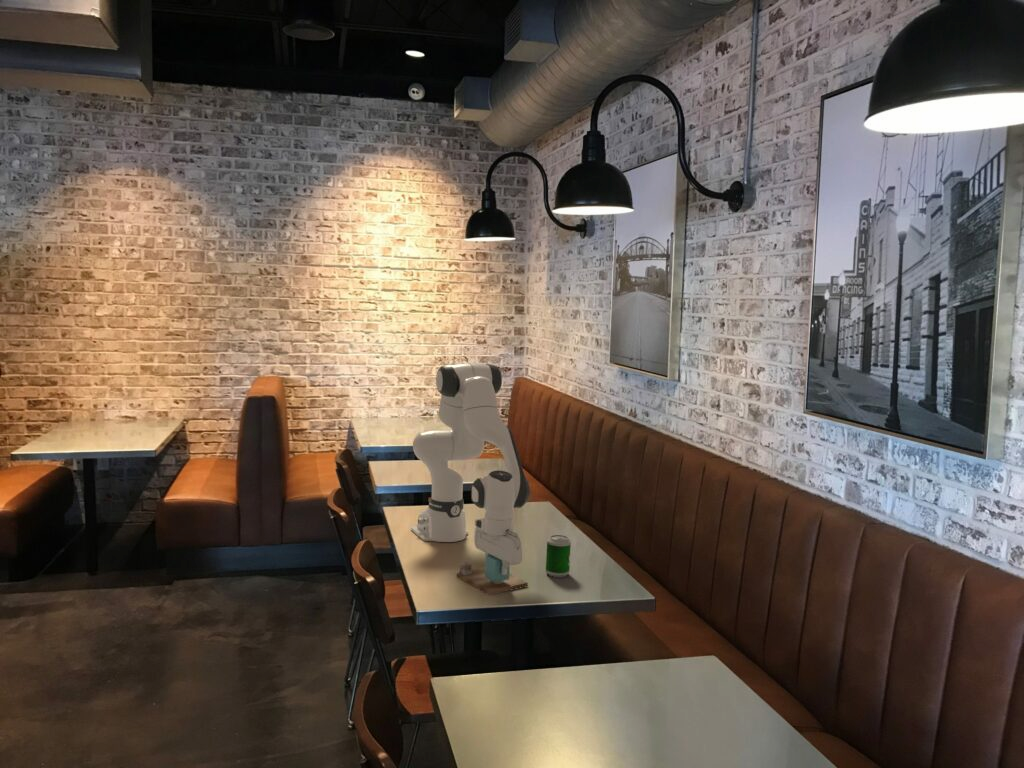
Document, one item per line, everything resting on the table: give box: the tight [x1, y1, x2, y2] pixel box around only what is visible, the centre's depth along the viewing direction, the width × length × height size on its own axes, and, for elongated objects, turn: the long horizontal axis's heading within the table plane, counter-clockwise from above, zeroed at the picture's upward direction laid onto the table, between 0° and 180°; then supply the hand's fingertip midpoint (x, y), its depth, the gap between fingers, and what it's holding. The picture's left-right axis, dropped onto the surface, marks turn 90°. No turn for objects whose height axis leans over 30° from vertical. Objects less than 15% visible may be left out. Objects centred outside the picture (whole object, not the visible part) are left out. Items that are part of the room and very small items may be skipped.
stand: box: [456, 562, 529, 595], centre depth 247 cm, size 18×14×7 cm
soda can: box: [545, 534, 572, 578], centre depth 256 cm, size 8×8×12 cm
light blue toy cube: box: [484, 555, 511, 582], centre depth 243 cm, size 5×5×7 cm
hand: (497, 570), depth 243 cm, fingers closed on light blue toy cube, 5 cm apart
